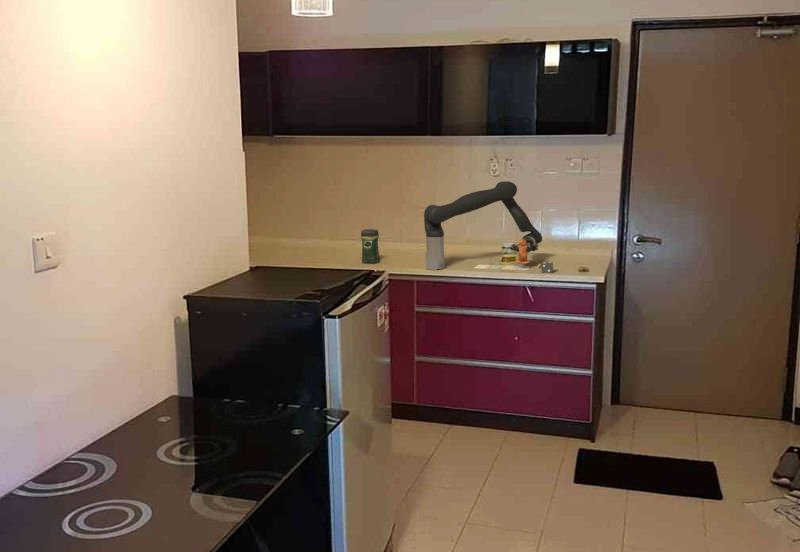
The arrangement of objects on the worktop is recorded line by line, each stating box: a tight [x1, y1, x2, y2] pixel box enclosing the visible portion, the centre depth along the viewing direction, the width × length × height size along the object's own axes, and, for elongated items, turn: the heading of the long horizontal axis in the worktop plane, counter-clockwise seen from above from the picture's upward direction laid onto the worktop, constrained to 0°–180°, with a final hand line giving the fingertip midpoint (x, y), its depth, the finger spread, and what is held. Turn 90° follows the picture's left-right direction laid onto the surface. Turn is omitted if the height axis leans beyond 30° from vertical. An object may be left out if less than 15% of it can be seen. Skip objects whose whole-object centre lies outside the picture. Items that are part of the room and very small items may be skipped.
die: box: [541, 261, 554, 274], centre depth 385 cm, size 5×5×5 cm
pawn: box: [516, 238, 530, 265], centre depth 388 cm, size 6×6×12 cm
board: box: [474, 264, 531, 271], centre depth 393 cm, size 29×12×2 cm, turn 72°
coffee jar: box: [360, 228, 381, 264], centre depth 422 cm, size 10×8×19 cm
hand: (522, 250), depth 385 cm, fingers closed on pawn, 4 cm apart
